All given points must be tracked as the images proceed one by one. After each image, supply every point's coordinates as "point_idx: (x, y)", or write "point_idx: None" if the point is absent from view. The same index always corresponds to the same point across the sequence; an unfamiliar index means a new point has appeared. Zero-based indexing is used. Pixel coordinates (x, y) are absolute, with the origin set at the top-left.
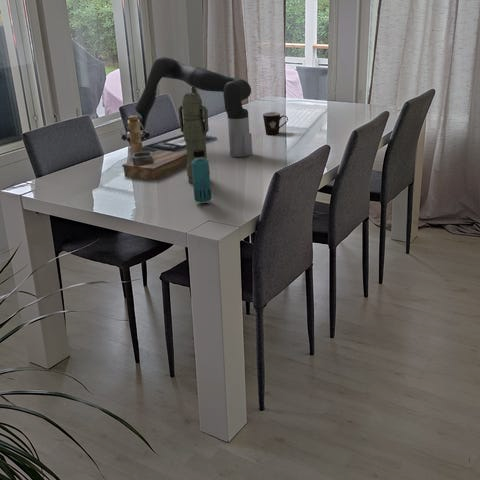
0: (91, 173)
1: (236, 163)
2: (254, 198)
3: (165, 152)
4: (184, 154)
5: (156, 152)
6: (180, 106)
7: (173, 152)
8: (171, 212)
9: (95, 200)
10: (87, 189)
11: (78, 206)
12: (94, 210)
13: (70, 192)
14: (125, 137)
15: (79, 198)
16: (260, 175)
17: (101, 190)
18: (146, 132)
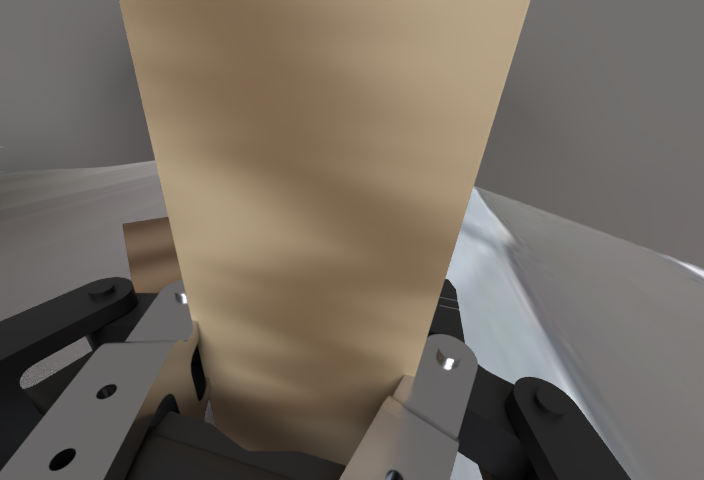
0: (640, 403)
1: (43, 212)
2: None
3: (174, 280)
4: (153, 220)
5: None
6: None
7: (147, 259)
8: None
9: (483, 205)
10: (533, 247)
11: (510, 201)
12: (473, 187)
13: (578, 250)
14: (489, 392)
15: (527, 220)
16: (142, 166)
17: (486, 230)
18: (105, 283)
